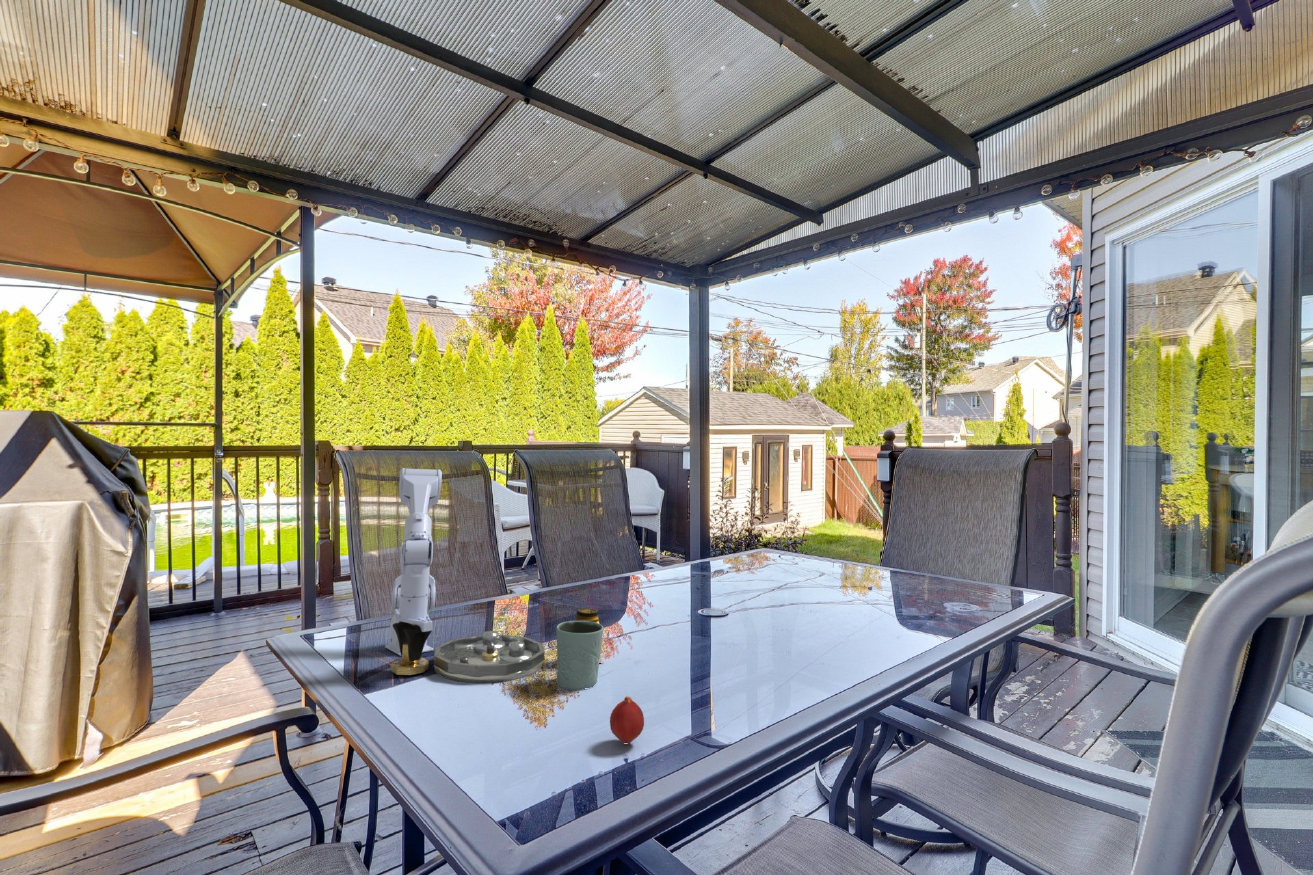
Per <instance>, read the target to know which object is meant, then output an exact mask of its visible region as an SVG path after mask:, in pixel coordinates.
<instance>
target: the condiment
mask: <svg viewBox="0 0 1313 875" xmlns="http://www.w3.org/2000/svg"><path fill="white" fill-rule="evenodd" d="M575 621H590V622H595V623H599V624H600V621H599V611H598V610H597V609H595V608H586V607H585V608H580V609H577V611H576V616H575Z"/></svg>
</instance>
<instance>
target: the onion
mask: <svg viewBox="0 0 1313 875" xmlns="http://www.w3.org/2000/svg"><path fill="white" fill-rule="evenodd" d="M609 726H610V731H611V733H612V734H613V735H614V736H615V738H617V739H618V740H619V741H620V742H621V743H622V742H623V743H629V744H630V743H632V742H633V741H635V739H637V738H638V737H639V736H640V735H641V733H642V732H643V730H644V726H645V716H644V712H643V710H642V708H641V707H640V706H639V704H637V702H635V701H634V700H633V699H632V697H631V696H630V695H627V696H625V697H624V698H623V700H622V701H620V702H619V703H617V704H616V706H615V707H614V708H613V709H612V711H611V713H610V717H609ZM623 743H622V744H623Z"/></svg>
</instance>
